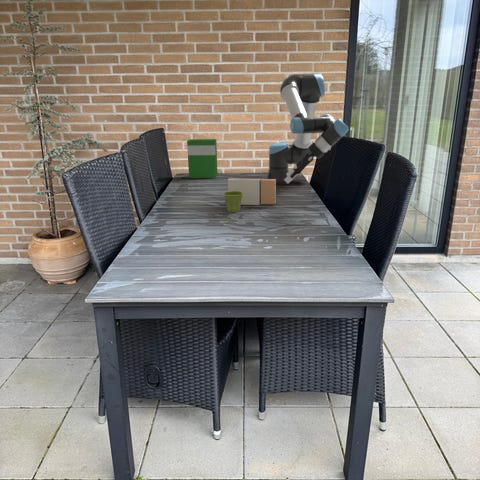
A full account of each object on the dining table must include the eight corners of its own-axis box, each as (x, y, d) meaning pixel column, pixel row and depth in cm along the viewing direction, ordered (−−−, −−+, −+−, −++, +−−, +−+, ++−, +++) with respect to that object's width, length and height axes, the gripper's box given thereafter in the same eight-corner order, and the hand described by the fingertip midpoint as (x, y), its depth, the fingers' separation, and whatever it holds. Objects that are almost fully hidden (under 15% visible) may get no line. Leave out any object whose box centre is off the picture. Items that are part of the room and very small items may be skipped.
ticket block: (229, 202, 229) (229, 178, 225) (261, 203, 226) (261, 178, 222) (228, 204, 226) (227, 179, 222) (260, 204, 223) (260, 180, 219)
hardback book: (217, 176, 294) (216, 139, 287) (216, 178, 287) (214, 140, 280) (191, 176, 296) (189, 139, 288) (189, 178, 289) (186, 140, 281)
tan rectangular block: (261, 202, 226) (261, 178, 222) (275, 202, 225) (275, 179, 221) (260, 203, 223) (260, 180, 219) (274, 204, 222) (275, 180, 218)
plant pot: (220, 212, 212) (219, 194, 209) (229, 207, 220) (229, 190, 217) (237, 214, 208) (237, 196, 205) (246, 209, 216) (246, 192, 213)
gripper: (325, 157, 199) (290, 190, 206) (324, 149, 222) (293, 179, 230) (313, 145, 198) (279, 178, 206) (314, 138, 221) (283, 168, 229)
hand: (286, 178), depth 218 cm, fingers open, 13 cm apart
